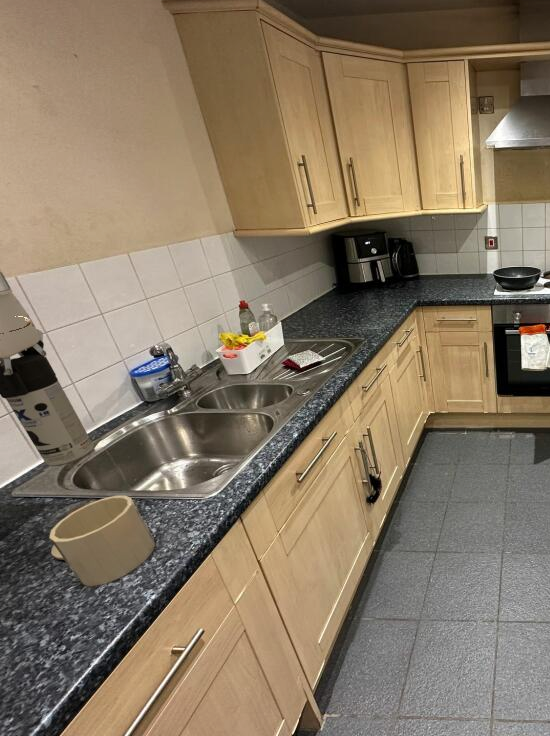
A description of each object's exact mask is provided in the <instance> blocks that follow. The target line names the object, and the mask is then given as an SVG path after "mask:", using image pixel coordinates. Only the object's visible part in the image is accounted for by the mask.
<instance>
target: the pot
mask: <svg viewBox="0 0 550 736" xmlns="http://www.w3.org/2000/svg"><path fill="white" fill-rule="evenodd" d="M49 540H50V541H51V542H52V544H53V546H54V545H55V547H56V548H57V550H58V551H59V553H60V554H61V555H62V557H63V558H64V559H63V560H64V561H65V563H66V564H67V566H68V567H69V569H70V570H71V572H72V573H73V574H74V576H75V577H76V579H77V580H78V581H79V582H80V583H81V584H82V585H83V586H85V587H97V586H103V585H105V584H109V583H112V582H114V581H116V580H118V579H120V578H122V577H124V576H126V575H128V574H129V573H131V572H133V571H134V570H135V569H137V568H138V567H140V566H141V565H142V564H143V563H144V562H146V560H147V559H148V558H150V556H151V555H152V553H153V552H154V550H155V548H156V541H155V538H154V537H153V534H152V533H151V531H150V529H149V527H148V526H147V523H146V522H145V520H144V518H143V516H142V515H141V513H140V511H139V510H138V508H137V506H136V504H135V502H134V500H133V498H131V497H130V496H127V495H112V496H108V497H104V498H100V499H98V500H95V501H93V502H91V503H87V504H86V505H85V506H84V507H82V508H80V509H78V510H76V511H74V512H72V513H71V514H69V515H68V516H67V515H66V516H65V517H64V518H62V519H61V520H59V522H57V523H56V524H55V525H54V527H52V529H51V530H50V533H49Z"/></svg>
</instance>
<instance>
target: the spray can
mask: <svg viewBox="0 0 550 736" xmlns="http://www.w3.org/2000/svg"><path fill="white" fill-rule="evenodd" d="M45 357H46V356H45ZM45 357H44V356H43V355H29V356H23V357H21V356H19V357H15V358H10V360H11V365H12V371H13V373H16V372H17V373H18V374H19V376H20V378H21V379H22V381H23V383H24V384H25V386H26V388H27V390H28V391H29V393H28V394H26V395H23V396H17V397H11V398H5V400H6V401H7V403H8V405H9V406H10V408H11V411H12V412H13V413H14V415H15V416H16V418H17V420H18V421H19V422H20V425H21V426H22V427H23V430H24V431H25V432H26V434H27V436H28V437H29V439H30V441H31V442H32V444H33V445H34V447H35V449H36V451H37V452H38V453H39V456H40V457H41V458H42V460H43V461H44V463H45V464H46V465H47V466H49V467H61V466H65V465H69V464H72V463H75V462H77V461H79V460H82V459H84V458H86V457H87V456H89V455H90V454H91V453H92V452H93V451H94V450H95V447H94V443H93V441H92V440H91V437H90V436H89V434H88V432H87V430H86V428H85V427H84V425H83V423H82V421H81V419H80V418H79V415H78V414H77V412H76V410H75V409H74V407H73V405H72V403H71V401H70V399H69V398H68V396H67V394H66V392H65V390H64V388H63V386H62V385H61V382H60V381H59V379H58V377H57V374H56V373H55V374H56V375H55V374H54V372H55V371H54V372H53V370H54V369H53V368H52V369H53V370H52V369H51V367H52V366H51V367H50V365H51V364H50V365H49V364H48V362H47V360H48V359H47V360H46V358H47V357H46V358H45ZM0 367H1V363H0Z"/></svg>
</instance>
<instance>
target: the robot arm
mask: <svg viewBox="0 0 550 736" xmlns="http://www.w3.org/2000/svg"><path fill="white" fill-rule="evenodd" d="M7 280H8V279H6V277H5V274H4V273H3V272H2V270H1V269H0V333H1V334H0V363H1V367H0V397H1V398H2V399H6V398H11V397H17V396H23V395H26V394H28V393H29V391H28V390H27V388H26V386H25V384H24V383H23V381H22V379H21V378H20V376H19V374H18V373H17V372H16V373H13V371H12V365H11V360H10V359H11V357H13V356H16V355H17V354H18V356H19V357H23V356H29V355H43V356H44V357H45V358H46V360H47V362H48V364H49V365H50V367H51V369H52V370H53V372H54V374H55V375H56V376H57V373H56V372H55V370H54V369H53V367H52V364H51V363H50V362H49V360H48V358H47V352H46V350H45V349H44V345H45V343H44V341H43V339H44V338H43V337H44V333H43V331H42V330H40V329H38V328H37V327H36V325H35V323H34V322H33V320H32V318H31V317H30V315H29V313H28V312H27V310H26V309H25V308H24V306H23V305H22V303H21V302H20V300H19V299H18V298H17V297H16V296H15V294H14V292H13V290H12V288H11V286H10V284H9V282H8V281H7ZM15 316H16V317H15ZM18 316H23V317H18ZM24 317H27V318H28V319H30V321H31V324H30V325H29V326H27V327H25V328H23V327H24V326H26V325H27V321H25V318H24ZM26 320H27V319H26ZM19 328H22V329H19ZM16 329H19V330H16ZM11 330H16V331H12V332H9V331H11ZM2 333H4V334H2Z"/></svg>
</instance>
